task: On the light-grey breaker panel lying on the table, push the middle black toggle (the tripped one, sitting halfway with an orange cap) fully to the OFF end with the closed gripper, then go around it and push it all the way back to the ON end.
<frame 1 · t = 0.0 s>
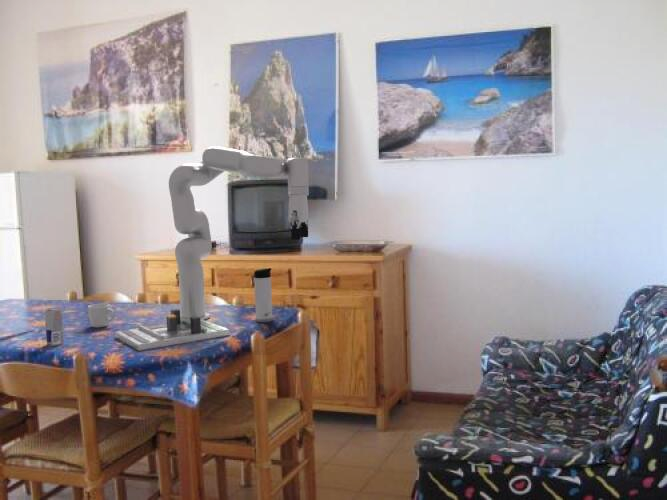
hand: (300, 238, 250), 31 cm above the table, tool pointing down, fingers open, 9 cm apart
travel mug: (264, 321, 257), on the table
panel: (172, 336, 236), on the table
energy drink: (55, 344, 229), on the table
cup: (103, 327, 256), on the table
tripped breaker: (171, 322, 235), point 5 cm above the table, slide at 0.0 cm
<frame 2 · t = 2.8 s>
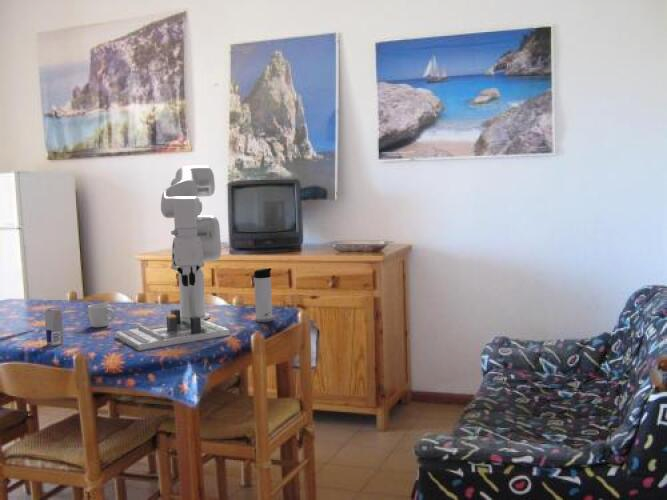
hand: (188, 285, 238), 17 cm above the table, tool pointing down, fingers closed
nothing on the table moved.
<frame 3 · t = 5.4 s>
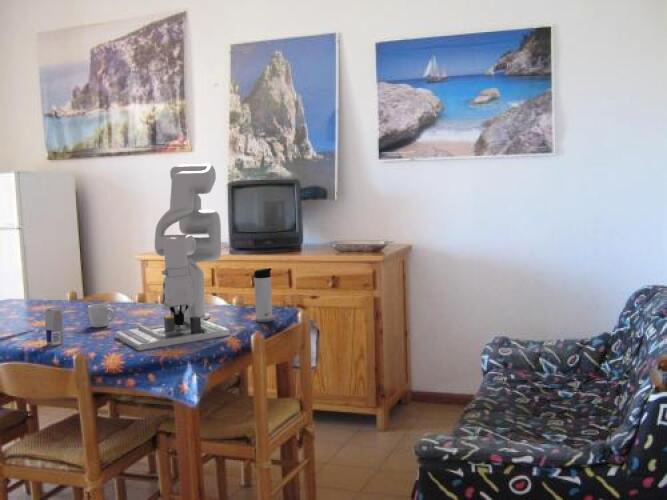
hand: (179, 324, 237), 4 cm above the table, tool pointing down, fingers closed
tripped breaker: (169, 323, 235), point 5 cm above the table, slide at -0.9 cm, touching gripper
everything else where it was.
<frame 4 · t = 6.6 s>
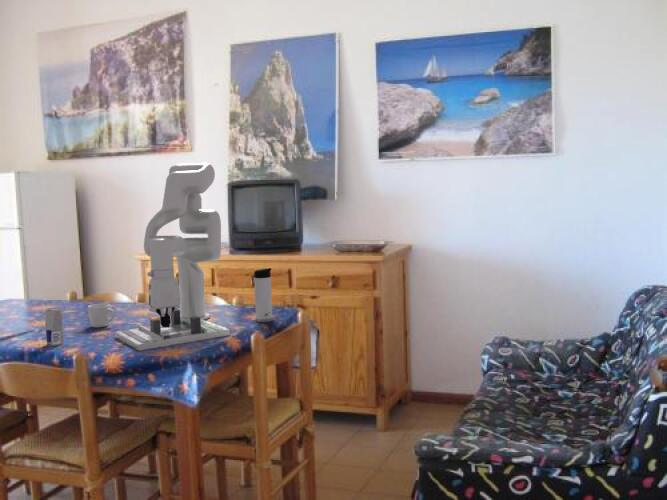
hand: (165, 326, 234), 4 cm above the table, tool pointing down, fingers closed
tripped breaker: (155, 325, 232), point 5 cm above the table, slide at -5.8 cm, touching gripper
everything else where it was.
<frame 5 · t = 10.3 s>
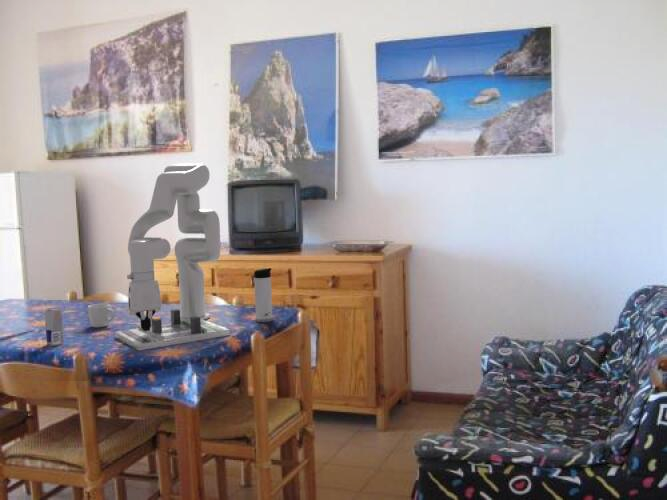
hand: (146, 330, 230), 4 cm above the table, tool pointing down, fingers closed
tripped breaker: (156, 324, 232), point 5 cm above the table, slide at -5.4 cm, touching gripper
everything else where it was.
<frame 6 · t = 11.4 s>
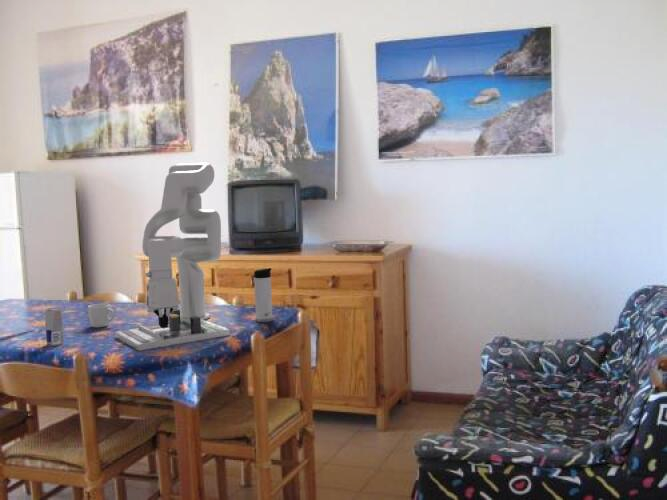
hand: (164, 327, 234), 4 cm above the table, tool pointing down, fingers closed
tripped breaker: (174, 322, 236), point 5 cm above the table, slide at 0.9 cm, touching gripper
everything else where it was.
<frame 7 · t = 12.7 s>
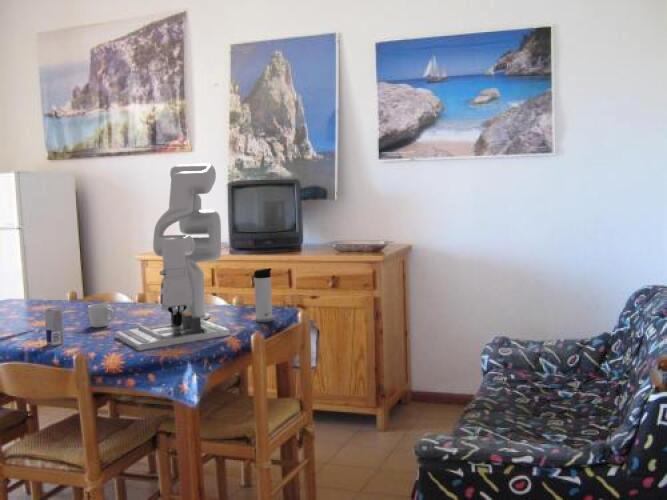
hand: (177, 325, 236), 4 cm above the table, tool pointing down, fingers closed
tripped breaker: (187, 320, 238), point 5 cm above the table, slide at 5.8 cm, touching gripper
everything else where it was.
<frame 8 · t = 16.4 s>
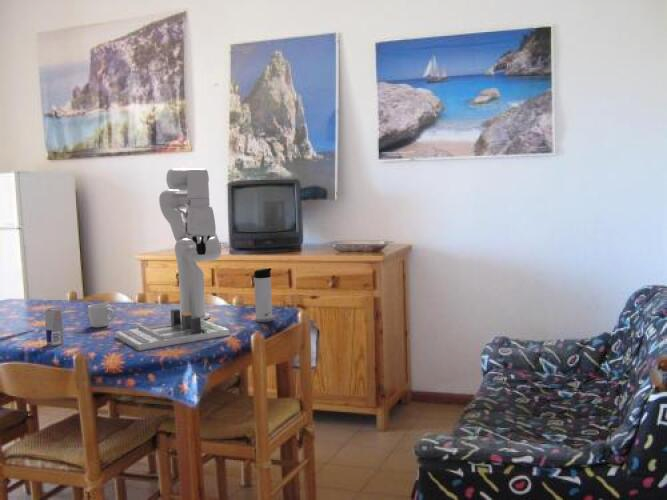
hand: (201, 254, 244), 27 cm above the table, tool pointing down, fingers closed
tripped breaker: (186, 320, 238), point 5 cm above the table, slide at 5.5 cm
everything else where it was.
at the end: tripped breaker slide at 5.5 cm; tripped breaker touching nothing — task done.
